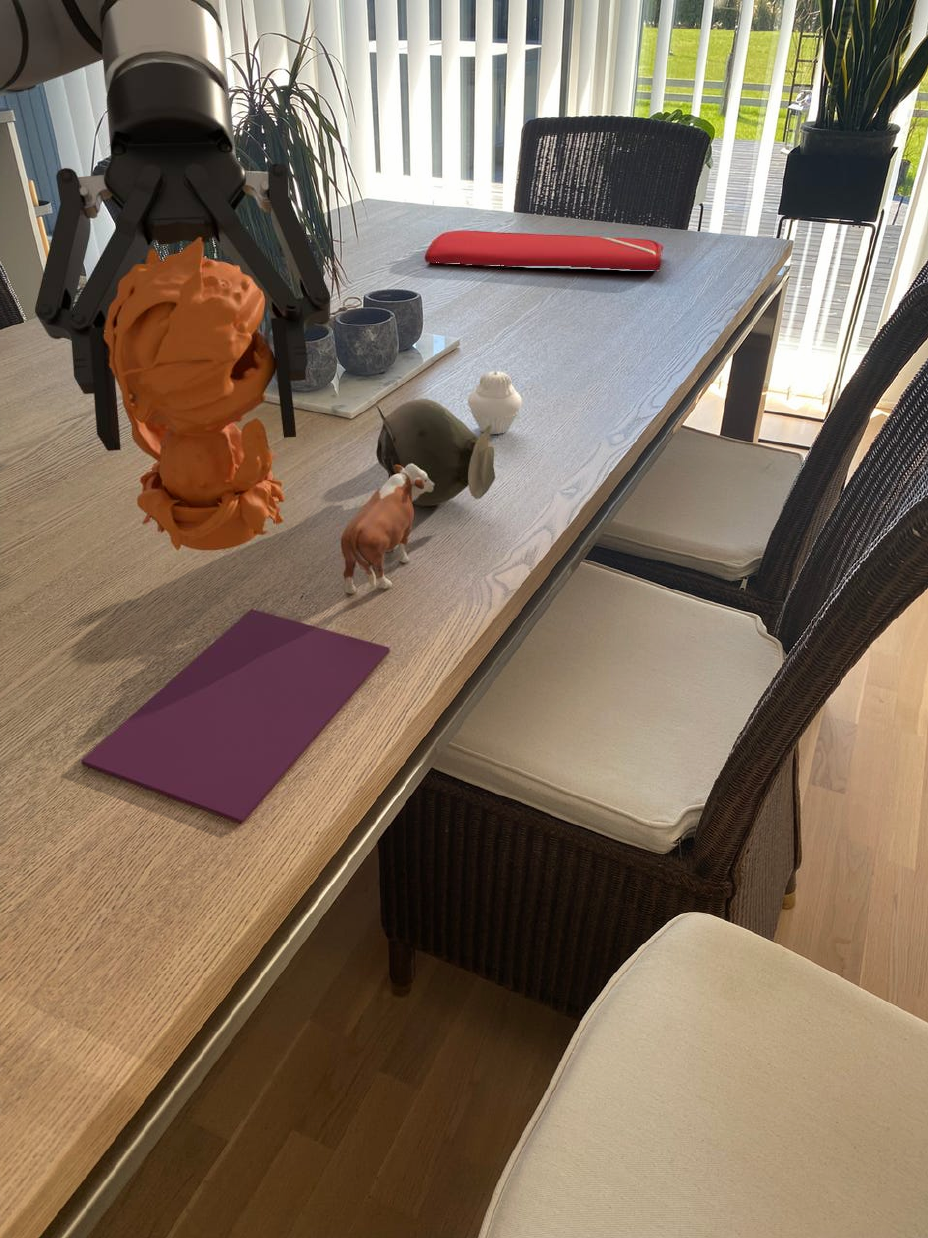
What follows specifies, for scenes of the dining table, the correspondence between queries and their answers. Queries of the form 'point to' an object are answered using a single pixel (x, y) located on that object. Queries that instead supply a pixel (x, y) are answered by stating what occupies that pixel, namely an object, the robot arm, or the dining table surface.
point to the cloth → (238, 714)
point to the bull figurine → (383, 525)
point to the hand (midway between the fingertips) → (200, 435)
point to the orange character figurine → (196, 396)
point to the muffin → (494, 402)
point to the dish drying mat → (544, 250)
